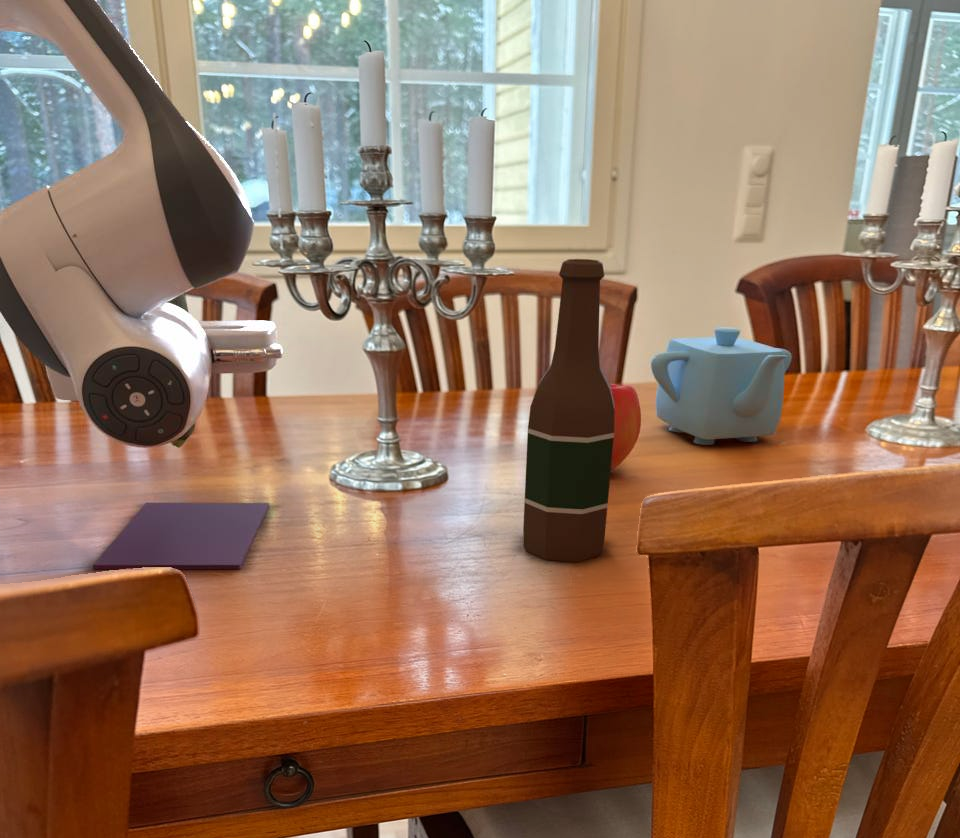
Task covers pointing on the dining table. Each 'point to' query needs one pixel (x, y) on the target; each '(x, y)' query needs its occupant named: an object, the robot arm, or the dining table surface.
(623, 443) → the apple
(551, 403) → the beer bottle
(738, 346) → the teapot
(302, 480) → the dining table surface
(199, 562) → the placemat
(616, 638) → the dining table surface
